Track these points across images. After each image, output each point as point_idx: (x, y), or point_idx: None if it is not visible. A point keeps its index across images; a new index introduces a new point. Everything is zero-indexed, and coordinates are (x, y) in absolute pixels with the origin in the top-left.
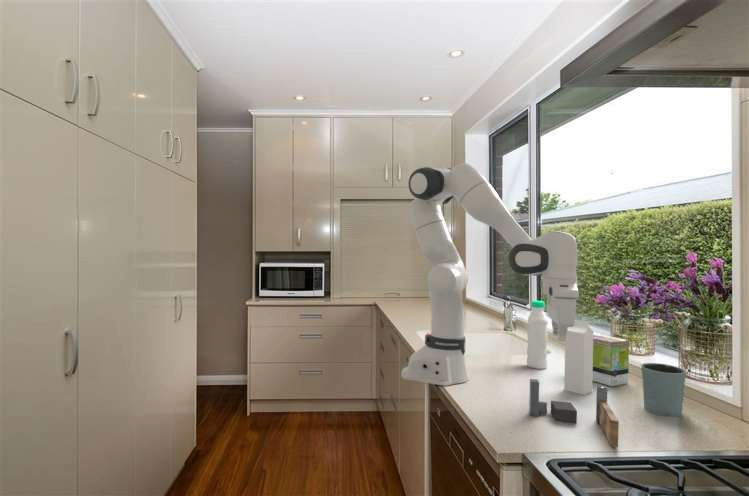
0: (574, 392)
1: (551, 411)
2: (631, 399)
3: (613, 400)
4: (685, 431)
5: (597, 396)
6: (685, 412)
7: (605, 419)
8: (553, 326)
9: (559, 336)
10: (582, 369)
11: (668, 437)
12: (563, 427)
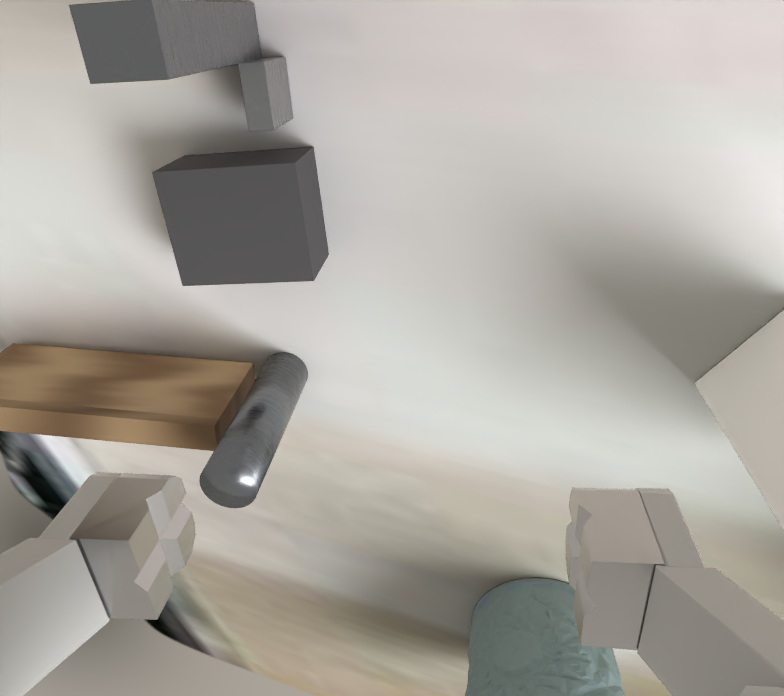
0: (738, 347)
1: (286, 151)
2: None
3: None
4: (333, 607)
5: (232, 428)
6: None
7: (87, 387)
8: (692, 610)
9: (64, 519)
10: (765, 484)
11: (246, 544)
12: (127, 187)
